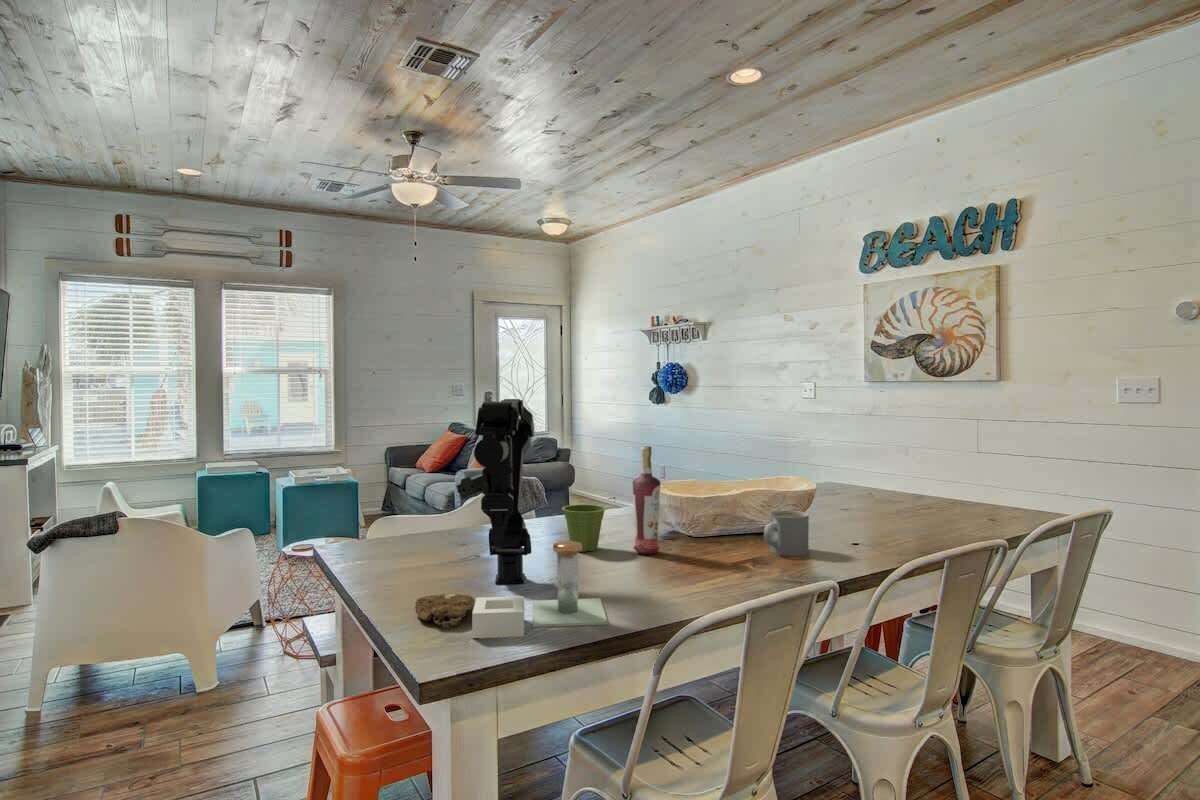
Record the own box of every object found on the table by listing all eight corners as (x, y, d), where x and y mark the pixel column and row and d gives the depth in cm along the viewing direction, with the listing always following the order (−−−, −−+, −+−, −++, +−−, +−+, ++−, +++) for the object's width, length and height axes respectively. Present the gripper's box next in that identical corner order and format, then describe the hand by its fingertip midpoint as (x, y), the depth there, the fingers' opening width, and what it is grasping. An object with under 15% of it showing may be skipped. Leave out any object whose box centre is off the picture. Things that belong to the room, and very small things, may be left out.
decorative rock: (489, 626, 130) (463, 607, 143) (490, 604, 130) (463, 587, 143) (429, 634, 124) (407, 613, 137) (430, 611, 125) (408, 592, 137)
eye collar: (476, 621, 131) (476, 597, 131) (524, 619, 132) (524, 595, 132) (472, 638, 122) (472, 613, 122) (523, 636, 123) (523, 611, 123)
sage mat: (532, 603, 142) (532, 600, 142) (600, 600, 143) (600, 598, 143) (532, 627, 128) (532, 624, 128) (607, 624, 129) (607, 621, 129)
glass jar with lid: (548, 609, 136) (548, 543, 136) (572, 603, 139) (572, 539, 139) (562, 617, 132) (562, 549, 131) (587, 611, 135) (587, 545, 134)
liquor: (650, 557, 177) (650, 448, 176) (627, 553, 182) (626, 447, 181) (665, 552, 183) (665, 446, 182) (642, 548, 187) (642, 445, 187)
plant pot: (606, 554, 181) (605, 511, 180) (560, 554, 181) (560, 511, 181) (606, 544, 193) (606, 503, 192) (563, 544, 193) (563, 503, 192)
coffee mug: (793, 545, 190) (793, 509, 190) (816, 554, 180) (816, 515, 180) (751, 549, 185) (751, 512, 185) (772, 558, 176) (772, 519, 176)
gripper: (462, 458, 152) (462, 529, 152) (454, 467, 133) (455, 548, 133) (513, 457, 153) (513, 528, 153) (513, 466, 134) (513, 547, 135)
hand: (498, 537), depth 143 cm, fingers open, 9 cm apart
